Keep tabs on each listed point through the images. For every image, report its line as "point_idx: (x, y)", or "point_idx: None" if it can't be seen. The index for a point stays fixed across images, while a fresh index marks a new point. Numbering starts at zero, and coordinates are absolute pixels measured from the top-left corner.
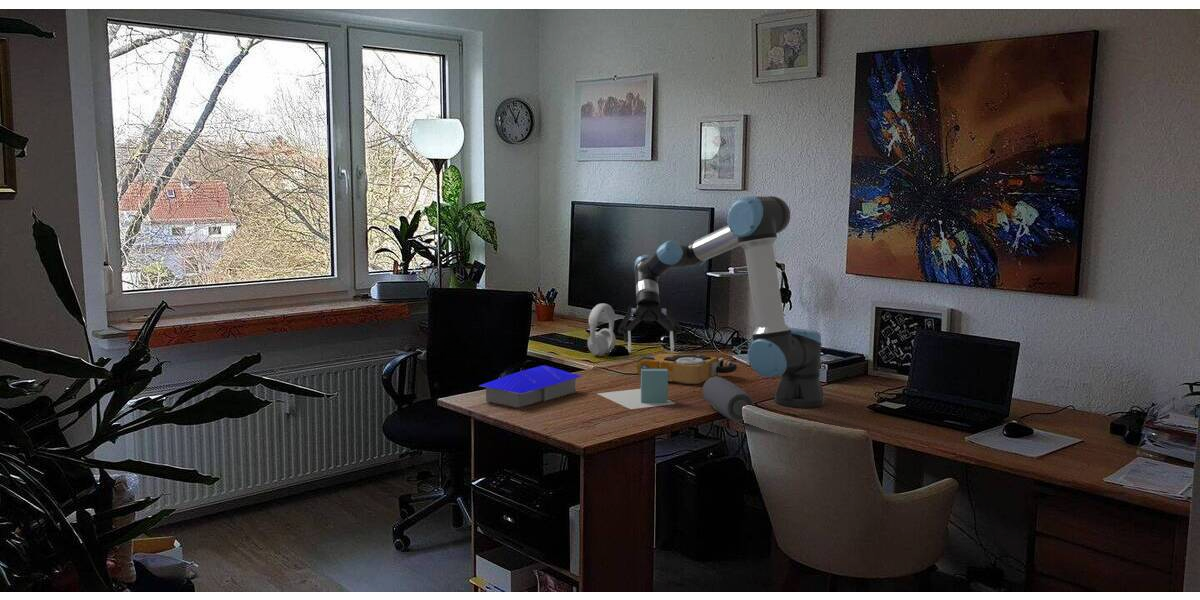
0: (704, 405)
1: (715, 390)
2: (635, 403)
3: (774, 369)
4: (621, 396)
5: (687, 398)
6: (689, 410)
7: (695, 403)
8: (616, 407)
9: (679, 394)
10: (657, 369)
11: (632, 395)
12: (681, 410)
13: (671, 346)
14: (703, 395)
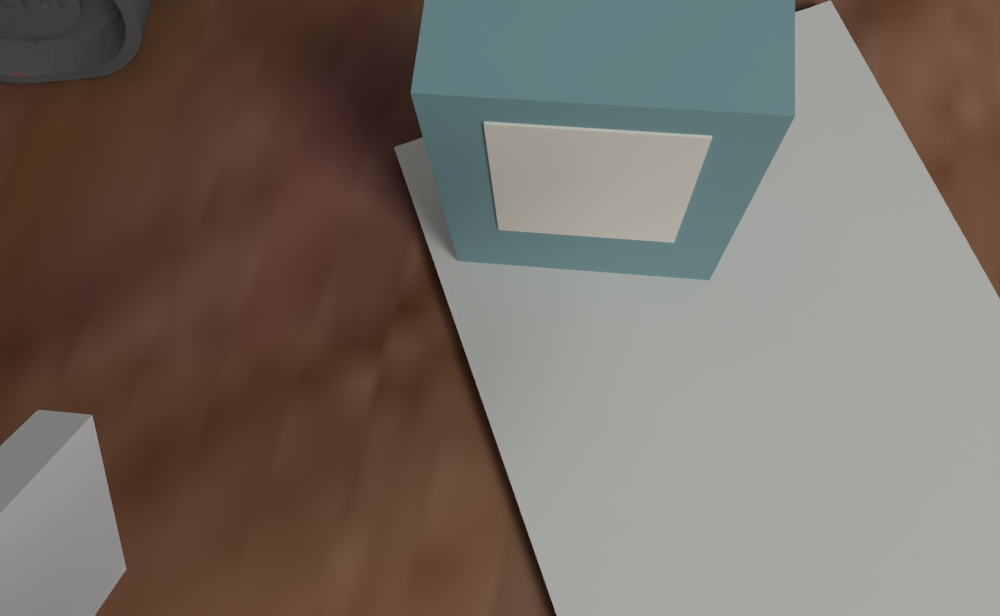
0: (154, 144)
1: None
2: (771, 176)
3: None
4: (898, 466)
5: (214, 404)
6: (332, 7)
7: (205, 214)
8: (947, 135)
9: (238, 586)
10: (556, 63)
11: (772, 501)
12: (396, 10)
13: (65, 485)
14: (147, 7)
